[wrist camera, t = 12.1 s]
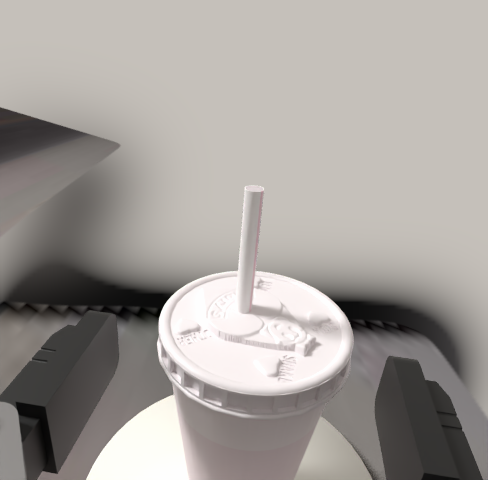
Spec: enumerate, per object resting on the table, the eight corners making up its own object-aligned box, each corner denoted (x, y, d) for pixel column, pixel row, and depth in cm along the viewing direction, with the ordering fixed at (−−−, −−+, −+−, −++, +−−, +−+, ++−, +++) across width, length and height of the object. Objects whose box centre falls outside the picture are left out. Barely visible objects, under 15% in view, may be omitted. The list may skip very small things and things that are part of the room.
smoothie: (225, 414, 22) (246, 151, 16) (337, 490, 19) (419, 196, 12) (127, 511, 17) (102, 190, 11) (254, 636, 14) (319, 280, 8)
